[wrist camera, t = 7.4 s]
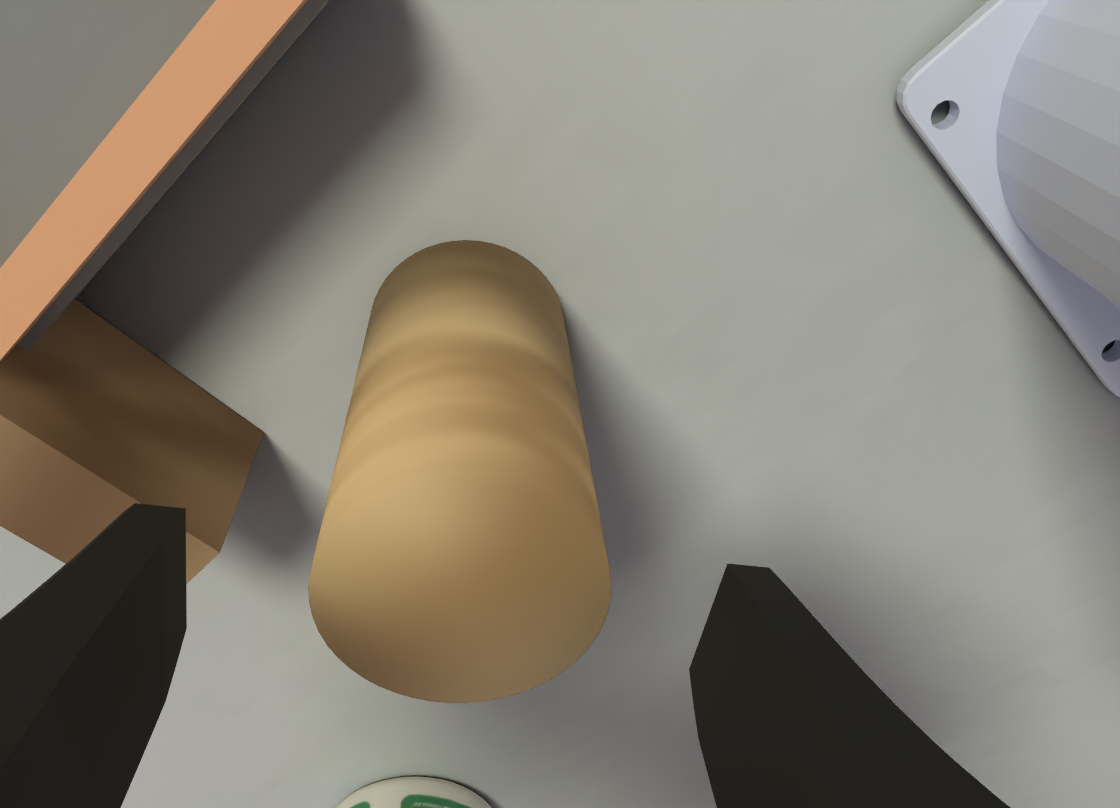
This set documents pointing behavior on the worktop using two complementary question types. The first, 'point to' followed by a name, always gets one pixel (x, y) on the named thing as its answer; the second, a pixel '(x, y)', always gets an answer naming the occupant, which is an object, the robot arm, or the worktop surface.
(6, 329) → the base
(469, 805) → the supplement bottle
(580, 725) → the worktop surface
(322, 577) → the oak dowel
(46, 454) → the walnut wall
